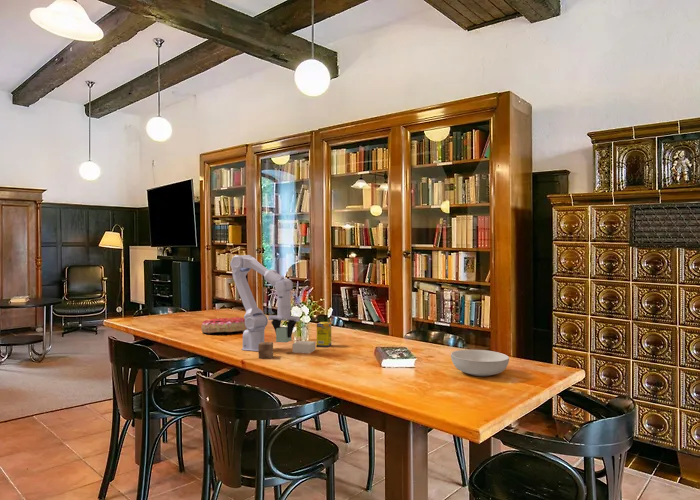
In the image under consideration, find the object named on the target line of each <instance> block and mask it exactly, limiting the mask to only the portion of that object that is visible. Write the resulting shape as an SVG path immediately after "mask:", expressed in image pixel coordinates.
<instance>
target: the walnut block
mask: <svg viewBox="0 0 700 500" xmlns="http://www.w3.org/2000/svg"><path fill="white" fill-rule="evenodd" d="M273 357H274V342H273V341H270V342H269V341H264V342H261V343H260V344H259V351H258V359H262V360H264V359H268V360H269V359H272V358H273Z"/></svg>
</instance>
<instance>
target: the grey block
mask: <svg viewBox="0 0 700 500" xmlns="http://www.w3.org/2000/svg"><path fill="white" fill-rule="evenodd" d="M315 350H316V341H309V340H298V341H295V342H293V343H292V353H295V354H311V353H313V352H314V351H315Z"/></svg>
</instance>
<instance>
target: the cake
mask: <svg viewBox="0 0 700 500" xmlns="http://www.w3.org/2000/svg"><path fill="white" fill-rule="evenodd" d="M200 327H201V332H202V334H207V335H214V333H216V334H217V333H221V334H223V333H227V334H229V333H233V332H234V333H237V332H238V333H243V332H244V331H245V330H248V329H247V328H246V326H245V319H244V317H239V316H235V317H220V318H212V319H211V318H210V319H205V320H203V321H202V324H201V326H200Z"/></svg>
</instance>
